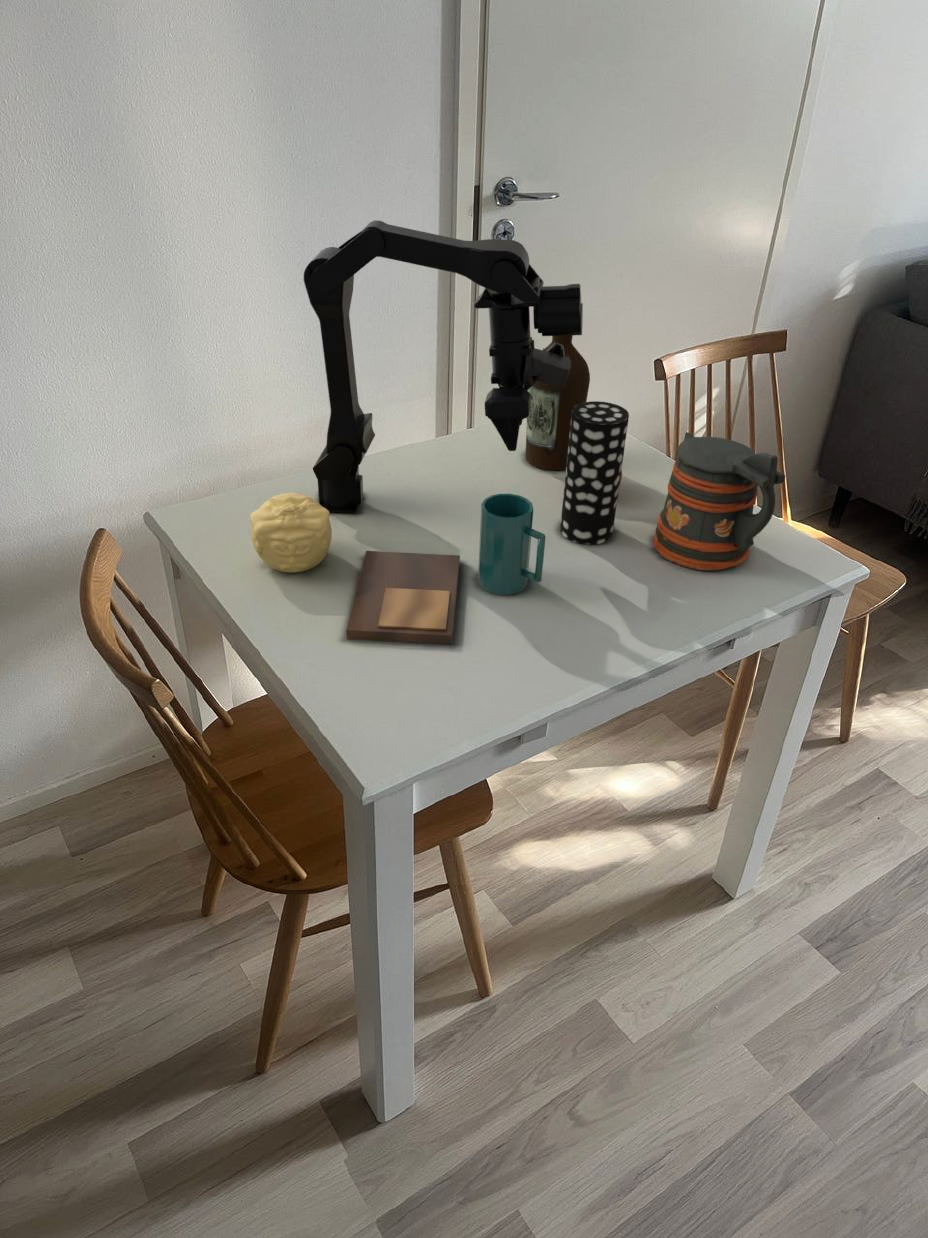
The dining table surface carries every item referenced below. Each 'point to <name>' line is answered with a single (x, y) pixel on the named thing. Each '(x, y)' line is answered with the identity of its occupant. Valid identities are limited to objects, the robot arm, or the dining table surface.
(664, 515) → the beer stein
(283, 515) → the sculpture
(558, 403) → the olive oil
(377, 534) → the dining table surface
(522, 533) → the teal coffee mug
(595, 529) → the spotted tube
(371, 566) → the board
